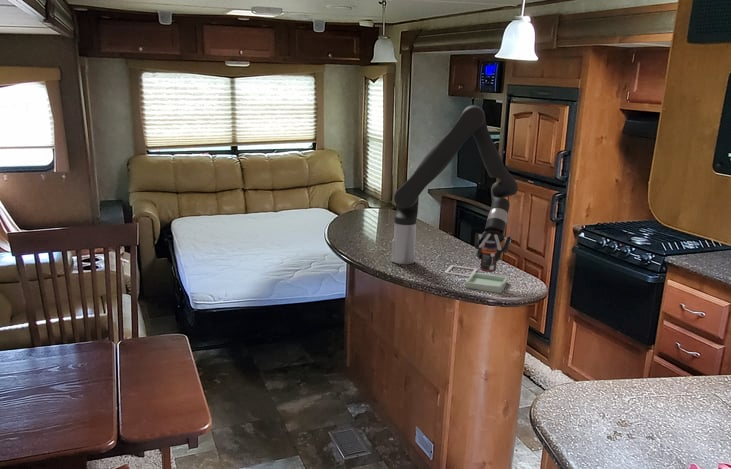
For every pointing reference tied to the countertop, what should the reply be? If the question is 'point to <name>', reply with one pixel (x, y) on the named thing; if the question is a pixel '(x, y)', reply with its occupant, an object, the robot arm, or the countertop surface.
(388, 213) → the countertop surface
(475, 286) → the tray
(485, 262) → the supplement bottle
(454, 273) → the mat frame
